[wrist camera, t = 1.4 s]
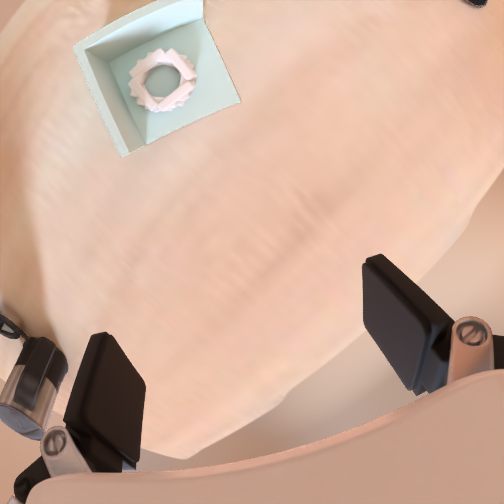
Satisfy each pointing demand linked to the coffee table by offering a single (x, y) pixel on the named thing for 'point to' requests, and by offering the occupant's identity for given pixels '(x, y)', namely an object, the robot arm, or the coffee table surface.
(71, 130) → the coffee table surface
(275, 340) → the coffee table surface
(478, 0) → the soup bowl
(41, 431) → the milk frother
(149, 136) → the right angle wall
